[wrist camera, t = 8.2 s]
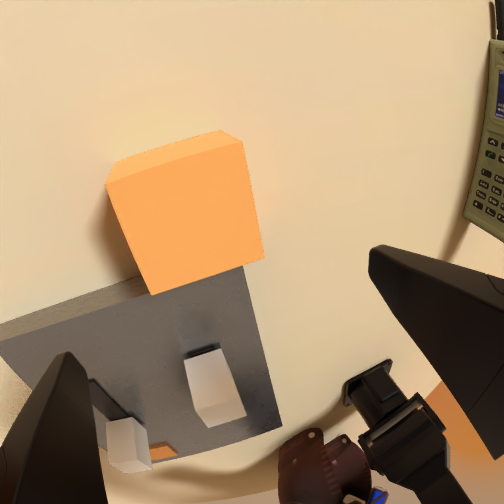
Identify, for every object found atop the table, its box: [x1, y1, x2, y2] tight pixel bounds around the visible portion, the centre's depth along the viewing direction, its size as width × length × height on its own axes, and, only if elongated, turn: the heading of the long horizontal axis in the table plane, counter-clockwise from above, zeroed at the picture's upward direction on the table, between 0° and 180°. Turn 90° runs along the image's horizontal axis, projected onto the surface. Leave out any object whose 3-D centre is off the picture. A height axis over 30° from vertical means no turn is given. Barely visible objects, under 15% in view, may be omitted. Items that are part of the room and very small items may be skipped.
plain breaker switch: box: [184, 348, 247, 428], centre depth 18 cm, size 3×3×4 cm
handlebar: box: [278, 428, 389, 504], centre depth 31 cm, size 45×13×20 cm, turn 40°
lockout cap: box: [105, 130, 265, 295], centre depth 14 cm, size 6×6×4 cm
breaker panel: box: [0, 265, 282, 463], centre depth 22 cm, size 22×18×2 cm
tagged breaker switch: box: [106, 417, 153, 474], centre depth 19 cm, size 3×3×4 cm
